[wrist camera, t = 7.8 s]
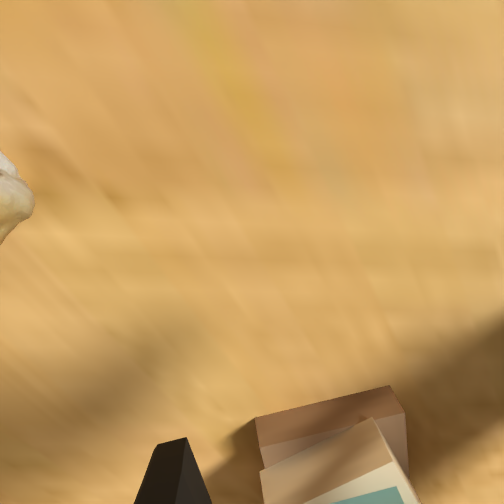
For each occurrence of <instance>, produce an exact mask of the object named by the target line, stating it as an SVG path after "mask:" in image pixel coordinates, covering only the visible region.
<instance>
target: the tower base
mask: <svg viewBox="0 0 504 504" xmlns="http://www.w3.org/2000/svg"><path fill="white" fill-rule="evenodd" d="M371 417H373V419H374V421H375V423H376V424H377V426H378V428H379V429H380V431H381V433H382V434H383V436H384V438H385V440H386V441H387V443H388V445H389V446H390V448H391V450H392V452H393V453H394V455H395V457H396V458H397V460H398V462H399V464H400V465H401V467H402V469H403V470H404V472H405V474H406V475H407V477H408V479H409V465H408V450H407V435H406V420H405V412H404V410H403V408H402V406H401V405H400V403H399V401H398V400H397V398H396V396H395V394H394V393H393V391H392V389H391V387H390V386H385V387H380V388H376V389H372V390H368V391H364V392H360V393H356V394H351V395H347V396H343V397H339V398H335V399H331V400H327V401H322V402H318V403H314V404H310V405H306V406H302V407H298V408H293V409H289V410H285V411H281V412H277V413H273V414H269V415H264V416H260V417H256V418H255V424H256V430H257V436H258V442H259V448H260V452H261V455H262V459H263V463H264V467H265V469H266V468H268V467H271V466H273V465H275V464H277V463H279V462H281V461H283V460H285V459H287V458H289V457H291V456H293V455H295V454H297V453H299V452H301V451H303V450H305V449H307V448H309V447H311V446H313V445H315V444H317V443H319V442H321V441H324V440H326V439H328V438H330V437H332V436H334V435H336V434H338V433H340V432H342V431H344V430H346V429H348V428H350V427H352V426H354V425H356V424H358V423H360V422H362V421H365V420H367V419H369V418H371ZM409 481H410V480H409Z"/></svg>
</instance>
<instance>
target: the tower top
mask: <svg viewBox="0 0 504 504" xmlns="http://www.w3.org/2000/svg"><path fill="white" fill-rule="evenodd" d="M259 472H260V479H261V486H262V492H263V499H264V504H331V503H334V502H338V501H342V500H346V499H349V498H353V497H357V496H361V495H365V494H368V493H372V492H376V491H380V490H384V489H387V488H391V487H395V486H396V487H397V489H398V491H399V493H400V495H401V498H402V500H403V502H404V504H422V503H421V501H420V499H419V497H418V495H417V493H416V491H415V489H414V487H413V486H412V484H411V482H410V481H409V479H408V477H407V475H406V474H405V472H404V470H403V469H402V467H401V465H400V464H399V462H398V460H397V458H396V457H395V455H394V453H393V452H392V450H391V448H390V446H389V445H388V443H387V441H386V440H385V438H384V436H383V434H382V433H381V431H380V429H379V428H378V426H377V424H376V423H375V421H374V419H373V417H371V418H369V419H367V420H365V421H362V422H360V423H358V424H356V425H354V426H352V427H350V428H348V429H346V430H344V431H342V432H340V433H338V434H336V435H334V436H332V437H330V438H328V439H326V440H324V441H321V442H319V443H317V444H315V445H313V446H311V447H309V448H307V449H305V450H303V451H301V452H299V453H297V454H295V455H293V456H291V457H289V458H287V459H285V460H283V461H281V462H279V463H277V464H275V465H273V466H271V467H268V468H266V469H264V470H261V471H259Z"/></svg>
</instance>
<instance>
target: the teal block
mask: <svg viewBox="0 0 504 504" xmlns="http://www.w3.org/2000/svg"><path fill="white" fill-rule="evenodd" d="M331 504H404V502H403V500H402V498H401V495H400V493H399V491H398V489H397V487H396V486H395V487H391V488H387V489H384V490H380V491H376V492H372V493H368V494H365V495H361V496H357V497H353V498H349V499H346V500H342V501H338V502H334V503H331Z"/></svg>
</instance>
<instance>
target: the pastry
mask: <svg viewBox="0 0 504 504" xmlns="http://www.w3.org/2000/svg"><path fill="white" fill-rule="evenodd" d="M34 205H35V200H34V195H33V192H32V190H31V189H30V188H29V187H28V184H27V183H26V181H25V180H23V179H22V178H21V177H20V176H19V173H18V169H17V168H16V166H15V165H14V164H13V163H12V162H11V161H10V160H9V159H8V158H7V157H6V156H5V155H4V154H3V153H2V152H1V151H0V245H1V244H2V243H3V241H4V239H5V238H6V236H7V235H8V234H9V233H10V232H11V231H12V230H13V229H14V228H15V226H16V225H17V224H18V223H19V222H21V221H23V220H25V219H27V218H29V217H30V216H31V215H32V212H33V208H34Z"/></svg>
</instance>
